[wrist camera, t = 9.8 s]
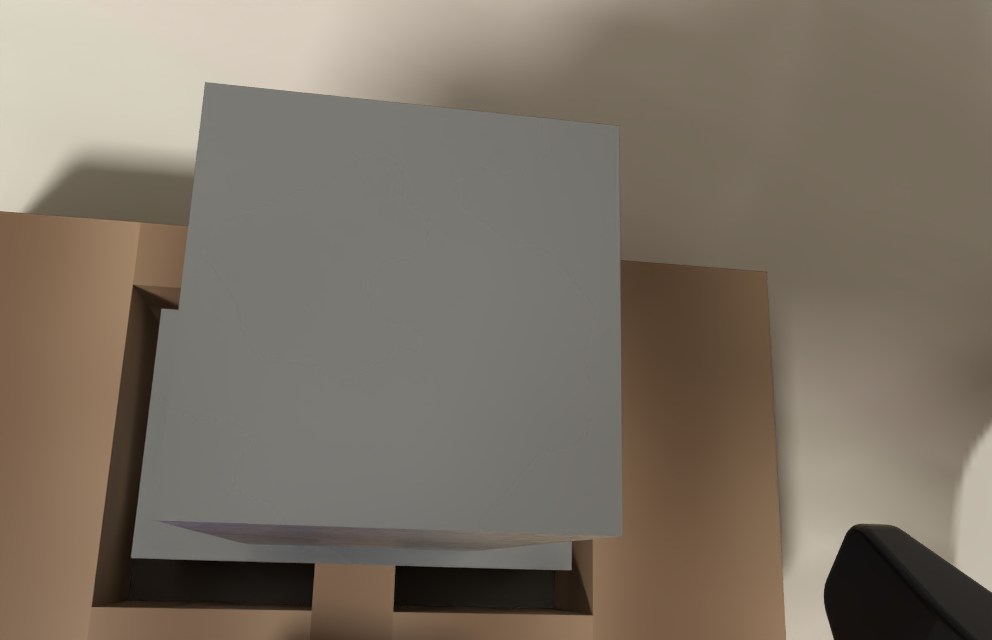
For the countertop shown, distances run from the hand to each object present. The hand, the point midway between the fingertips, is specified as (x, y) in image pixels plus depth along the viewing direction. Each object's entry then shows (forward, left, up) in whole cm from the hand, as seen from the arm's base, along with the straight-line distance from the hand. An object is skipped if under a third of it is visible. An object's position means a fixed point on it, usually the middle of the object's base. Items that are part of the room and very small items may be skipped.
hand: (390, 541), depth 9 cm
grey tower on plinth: (+2, 0, -11) cm, 11 cm away
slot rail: (+2, 0, -11) cm, 11 cm away
